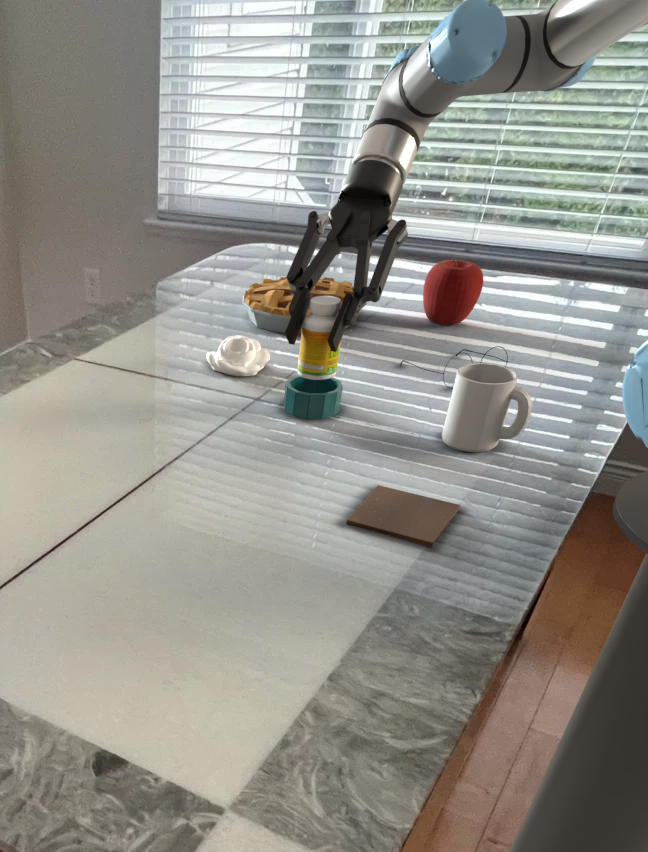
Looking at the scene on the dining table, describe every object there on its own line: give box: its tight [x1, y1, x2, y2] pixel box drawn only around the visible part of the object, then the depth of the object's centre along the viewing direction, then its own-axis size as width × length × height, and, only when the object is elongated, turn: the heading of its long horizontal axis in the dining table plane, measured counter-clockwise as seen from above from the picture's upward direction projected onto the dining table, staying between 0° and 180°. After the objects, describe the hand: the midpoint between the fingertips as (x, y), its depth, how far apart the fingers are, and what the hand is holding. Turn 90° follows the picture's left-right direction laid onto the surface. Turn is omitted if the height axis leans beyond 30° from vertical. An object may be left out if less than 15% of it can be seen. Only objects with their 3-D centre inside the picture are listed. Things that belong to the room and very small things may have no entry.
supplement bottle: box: [296, 296, 342, 380], centre depth 115 cm, size 5×5×10 cm
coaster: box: [345, 484, 461, 548], centre depth 97 cm, size 10×10×1 cm
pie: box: [242, 276, 368, 335], centre depth 150 cm, size 22×22×5 cm
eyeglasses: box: [399, 345, 509, 390], centre depth 128 cm, size 11×13×5 cm
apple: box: [422, 258, 484, 326], centre depth 144 cm, size 10×10×10 cm
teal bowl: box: [282, 374, 344, 420], centre depth 120 cm, size 8×8×4 cm
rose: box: [206, 334, 271, 377], centre depth 133 cm, size 10×4×10 cm
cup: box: [441, 362, 533, 453], centre depth 108 cm, size 7×10×9 cm
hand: (310, 342), depth 112 cm, fingers closed on supplement bottle, 5 cm apart
